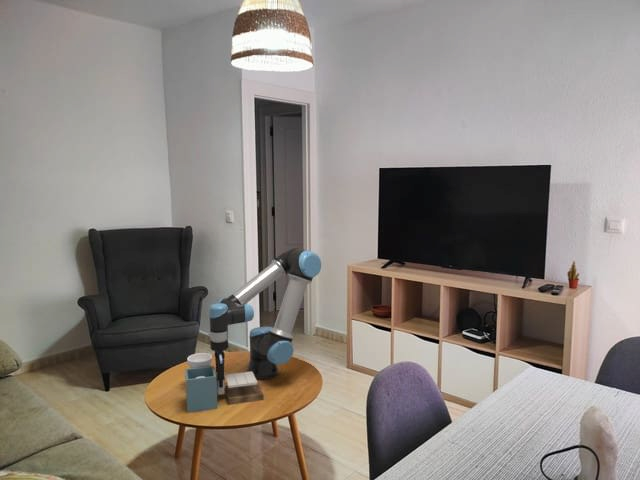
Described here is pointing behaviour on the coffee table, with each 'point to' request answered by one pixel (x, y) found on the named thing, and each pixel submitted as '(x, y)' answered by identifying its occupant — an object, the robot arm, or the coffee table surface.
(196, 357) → the cup
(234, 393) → the board
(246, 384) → the lid
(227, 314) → the robot arm
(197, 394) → the tub
